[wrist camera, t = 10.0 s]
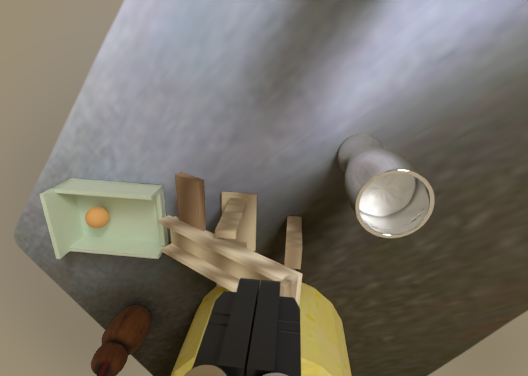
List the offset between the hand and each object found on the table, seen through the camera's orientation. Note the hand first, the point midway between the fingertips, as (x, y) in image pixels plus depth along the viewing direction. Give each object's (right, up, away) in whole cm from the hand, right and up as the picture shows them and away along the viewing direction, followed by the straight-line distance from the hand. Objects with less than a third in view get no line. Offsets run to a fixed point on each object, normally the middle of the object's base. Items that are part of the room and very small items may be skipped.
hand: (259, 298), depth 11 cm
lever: (-4, -1, +25) cm, 26 cm away
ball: (-24, 0, +34) cm, 42 cm away
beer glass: (+13, +8, +29) cm, 33 cm away
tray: (-22, 0, +36) cm, 42 cm away
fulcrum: (0, -1, +34) cm, 34 cm away
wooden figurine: (-22, -18, +44) cm, 52 cm away
